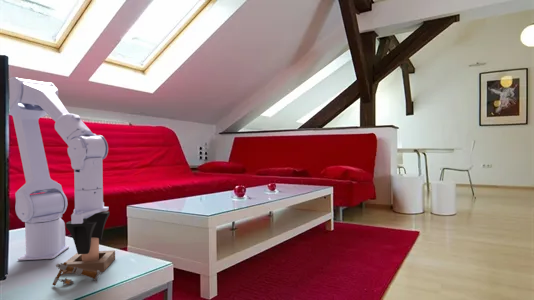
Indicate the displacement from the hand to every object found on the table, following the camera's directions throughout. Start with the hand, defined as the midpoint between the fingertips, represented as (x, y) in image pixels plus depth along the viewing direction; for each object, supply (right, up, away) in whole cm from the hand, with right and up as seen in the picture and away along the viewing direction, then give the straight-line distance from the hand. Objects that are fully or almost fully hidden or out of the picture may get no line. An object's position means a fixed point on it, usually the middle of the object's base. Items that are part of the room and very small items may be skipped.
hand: (89, 248), depth 79 cm
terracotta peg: (0, -4, 0) cm, 4 cm away
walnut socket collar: (0, -4, 0) cm, 4 cm away
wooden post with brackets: (+2, -5, -9) cm, 11 cm away
